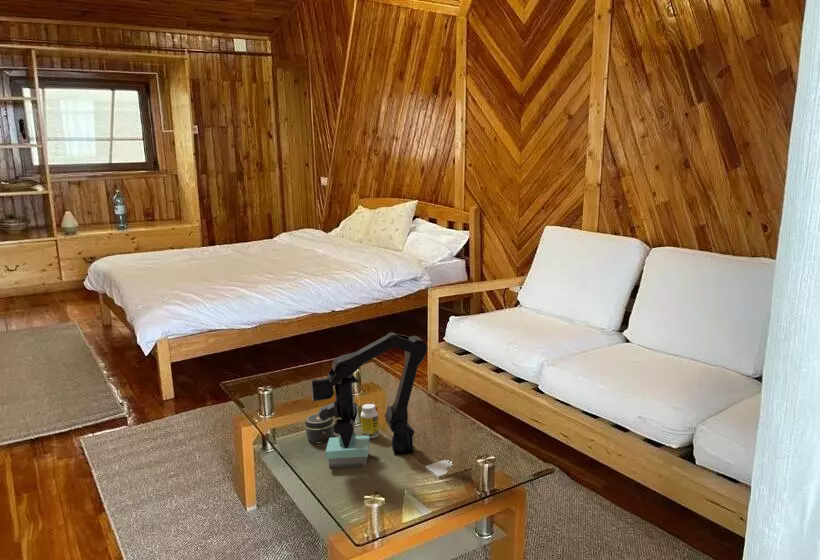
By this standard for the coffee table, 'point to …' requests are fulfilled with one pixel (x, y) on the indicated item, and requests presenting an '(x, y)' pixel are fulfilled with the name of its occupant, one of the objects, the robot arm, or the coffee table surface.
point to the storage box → (348, 462)
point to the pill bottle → (369, 421)
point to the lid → (355, 449)
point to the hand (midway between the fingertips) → (347, 441)
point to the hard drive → (439, 467)
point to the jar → (319, 428)
